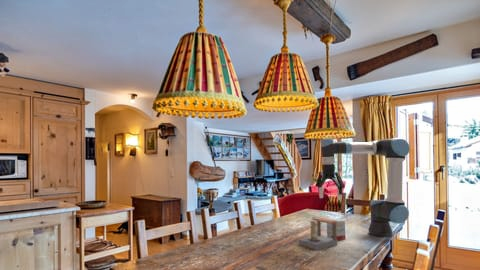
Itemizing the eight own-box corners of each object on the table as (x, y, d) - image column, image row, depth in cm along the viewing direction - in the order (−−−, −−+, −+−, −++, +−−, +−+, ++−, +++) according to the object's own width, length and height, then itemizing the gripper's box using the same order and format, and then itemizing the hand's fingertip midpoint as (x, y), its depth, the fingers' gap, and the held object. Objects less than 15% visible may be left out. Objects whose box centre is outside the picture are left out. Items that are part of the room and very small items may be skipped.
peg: (309, 245, 182) (309, 221, 183) (314, 244, 184) (313, 220, 185) (314, 246, 178) (314, 222, 180) (319, 245, 181) (318, 221, 182)
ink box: (346, 239, 195) (345, 220, 196) (335, 240, 192) (334, 221, 193) (337, 236, 203) (336, 218, 204) (326, 237, 200) (326, 219, 201)
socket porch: (318, 239, 194) (318, 217, 195) (337, 244, 182) (336, 220, 184) (298, 244, 183) (298, 220, 185) (317, 250, 172) (316, 224, 173)
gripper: (308, 164, 195) (310, 197, 194) (341, 164, 175) (343, 201, 173) (316, 163, 199) (318, 196, 198) (349, 163, 179) (351, 200, 178)
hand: (330, 199), depth 186 cm, fingers open, 13 cm apart
